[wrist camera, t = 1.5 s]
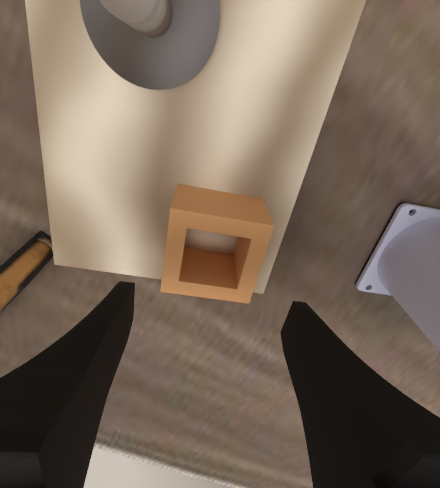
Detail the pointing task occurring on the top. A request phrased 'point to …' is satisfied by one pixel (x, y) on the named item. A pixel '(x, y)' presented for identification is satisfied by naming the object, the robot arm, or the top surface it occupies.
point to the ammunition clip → (23, 267)
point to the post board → (177, 115)
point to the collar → (208, 262)
